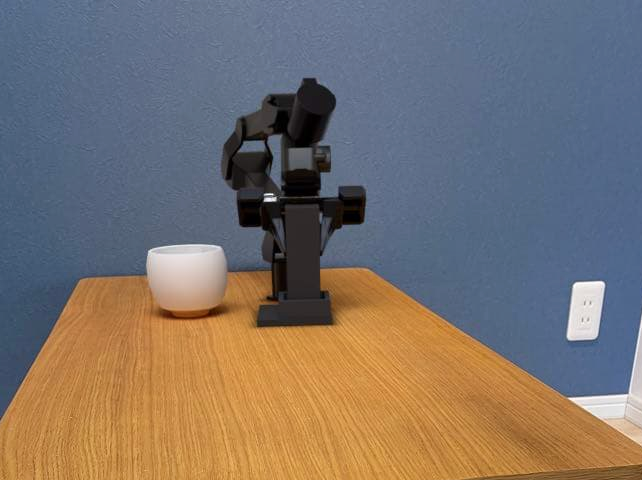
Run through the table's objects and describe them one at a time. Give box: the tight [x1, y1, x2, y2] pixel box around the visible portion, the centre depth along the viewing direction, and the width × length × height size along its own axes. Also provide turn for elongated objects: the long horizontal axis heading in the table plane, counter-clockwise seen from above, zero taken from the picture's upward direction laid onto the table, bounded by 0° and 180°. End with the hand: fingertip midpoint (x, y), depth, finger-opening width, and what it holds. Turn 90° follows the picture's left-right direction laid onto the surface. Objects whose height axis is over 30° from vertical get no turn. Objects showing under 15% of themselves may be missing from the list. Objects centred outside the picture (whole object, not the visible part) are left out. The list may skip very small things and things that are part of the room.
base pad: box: [256, 289, 333, 327], centre depth 129 cm, size 11×11×4 cm
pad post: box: [285, 204, 321, 300], centre depth 124 cm, size 5×5×13 cm
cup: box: [145, 243, 229, 319], centre depth 132 cm, size 12×12×10 cm
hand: (302, 254), depth 123 cm, fingers closed on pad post, 5 cm apart
